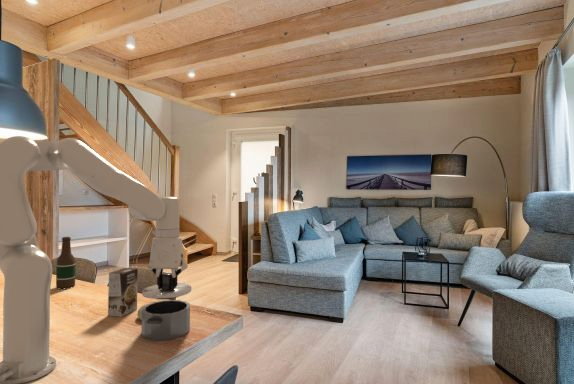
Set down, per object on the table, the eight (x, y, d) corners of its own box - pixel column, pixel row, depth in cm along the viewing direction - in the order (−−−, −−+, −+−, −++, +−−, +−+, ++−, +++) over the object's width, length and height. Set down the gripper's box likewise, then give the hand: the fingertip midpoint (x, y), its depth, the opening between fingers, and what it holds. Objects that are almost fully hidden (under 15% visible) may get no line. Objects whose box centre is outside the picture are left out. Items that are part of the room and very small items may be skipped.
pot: (176, 344, 104) (176, 318, 104) (128, 342, 106) (129, 316, 106) (198, 321, 124) (198, 298, 124) (157, 319, 125) (158, 297, 125)
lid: (181, 302, 107) (181, 280, 107) (133, 301, 107) (133, 279, 107) (197, 288, 122) (197, 269, 122) (154, 287, 123) (154, 268, 123)
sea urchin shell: (154, 306, 134) (162, 294, 130) (161, 324, 130) (170, 312, 127) (131, 312, 127) (139, 300, 123) (138, 331, 123) (146, 319, 119)
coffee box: (122, 317, 127) (123, 273, 127) (107, 315, 128) (107, 272, 128) (137, 309, 135) (138, 268, 135) (123, 307, 137) (124, 267, 137)
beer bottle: (57, 285, 166) (58, 236, 166) (76, 284, 170) (76, 235, 170) (54, 290, 159) (55, 238, 159) (74, 288, 163) (74, 237, 163)
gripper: (138, 234, 112) (137, 290, 112) (187, 235, 110) (187, 292, 110) (149, 231, 119) (149, 284, 119) (195, 232, 118) (195, 285, 118)
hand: (167, 287), depth 115 cm, fingers closed on lid, 3 cm apart
